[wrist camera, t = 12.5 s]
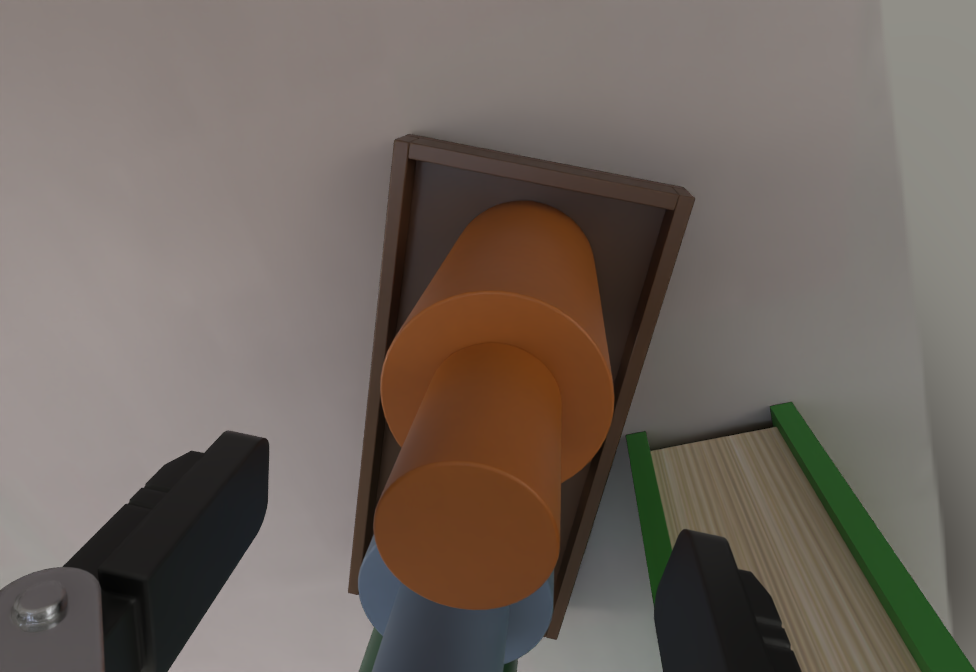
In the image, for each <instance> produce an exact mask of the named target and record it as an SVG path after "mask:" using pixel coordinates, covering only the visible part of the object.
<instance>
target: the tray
mask: <svg viewBox="0 0 976 672" xmlns="http://www.w3.org/2000/svg"><path fill="white" fill-rule="evenodd" d="M511 201H534V202H539V203H543V204H547V205H549V206H551V207H554V208H556V209H558V210H559V211H561V212H563V213H564V214H566V215H567V216H568V217H570V218H571V219H572V220H573V221H574V222H575V223H576V224H577V225H578V226H579V227H580V229H581V230H582V231H583V233H584V234H585V236H586V238H587V240H588V241H589V244H590V246H591V249H592V252H593V256H594V261H595V268H596V274H597V281H598V287H599V294H600V300H601V307H602V314H603V320H604V327H605V333H606V340H607V346H608V353H609V360H610V366H611V373H612V379H613V387H614V413H613V417H612V422H611V426H610V428H609V431H608V434H607V436H606V438H605V440H604V442H603V444H602V446H601V447H600V449H599V450H598V452H597V453H596V454H595V456H594V457H593V458H592V459H591V461H590V462H589V463H588V464H587V465H586V466H585V467H584V468H583V469H582V470H581V471H579V472H578V473H577V474H575V475H574V476H572V477H571V478H570V479H568V480H566V481H564V482H563V483H561V514H560V552H559V557H558V560H557V563H556V566H555V568H554V599H553V614H552V619H551V622H550V625H549V627H548V629H547V631H546V633H545V634H544V636H543V637H547V638H551V639H555V640H557V638H558V635H559V631H560V628H561V625H562V622H563V619H564V616H565V612H566V609H567V606H568V603H569V600H570V596H571V593H572V590H573V587H574V584H575V580H576V577H577V574H578V571H579V568H580V564H581V561H582V558H583V555H584V552H585V549H586V545H587V542H588V539H589V536H590V533H591V529H592V526H593V523H594V520H595V517H596V513H597V510H598V507H599V504H600V501H601V498H602V494H603V491H604V488H605V485H606V482H607V478H608V475H609V472H610V469H611V466H612V462H613V459H614V456H615V453H616V450H617V446H618V443H619V440H620V437H621V434H622V431H623V427H624V424H625V421H626V418H627V415H628V411H629V408H630V405H631V402H632V399H633V395H634V392H635V389H636V386H637V383H638V379H639V376H640V373H641V370H642V367H643V364H644V360H645V357H646V354H647V351H648V348H649V344H650V341H651V338H652V335H653V332H654V328H655V325H656V322H657V319H658V316H659V313H660V309H661V306H662V303H663V300H664V297H665V293H666V290H667V287H668V284H669V281H670V277H671V274H672V271H673V268H674V265H675V261H676V258H677V255H678V252H679V249H680V246H681V242H682V239H683V236H684V233H685V230H686V226H687V223H688V220H689V217H690V214H691V210H692V207H693V204H694V201H695V198H694V197H693V196H692V195H691V194H690V193H689V192H688V191H687V190H686V189H685V188H684V187H679V186H674V185H669V184H664V183H659V182H654V181H648V180H643V179H638V178H633V177H628V176H623V175H618V174H612V173H607V172H602V171H597V170H592V169H587V168H582V167H576V166H571V165H566V164H561V163H556V162H551V161H546V160H540V159H535V158H530V157H525V156H520V155H515V154H510V153H504V152H499V151H494V150H489V149H484V148H479V147H474V146H468V145H463V144H458V143H453V142H448V141H443V140H438V139H433V138H427V137H422V136H417V135H412V134H407V135H405V136H403V137H400V138H398V139H395V140H394V147H393V156H392V166H391V176H390V186H389V196H388V205H387V215H386V225H385V235H384V244H383V254H382V264H381V274H380V284H379V293H378V303H377V313H376V323H375V333H374V342H373V352H372V362H371V372H370V381H369V391H368V401H367V411H366V421H365V430H364V440H363V450H362V460H361V470H360V479H359V489H358V499H357V509H356V518H355V528H354V538H353V548H352V558H351V567H350V577H349V587H348V593H351V594H355V595H359V590H358V576H359V571H360V567H361V564H362V562H363V559H364V557H365V555H366V552H367V550H368V547H369V545H370V542H371V540H372V538H373V535H374V530H373V522H374V514H375V509H376V507H377V504H378V502H379V499H380V497H381V495H382V492H383V490H384V488H385V485H386V483H387V481H388V478H389V476H390V474H391V472H392V469H393V467H394V465H395V462H396V460H397V458H398V455H399V453H400V451H401V449H402V448H401V447H400V445H399V444H398V443H397V441H396V439H395V438H394V436H393V434H392V432H391V430H390V428H389V426H388V423H387V421H386V418H385V415H384V411H383V407H382V403H381V394H380V380H381V372H382V367H383V363H384V360H385V357H386V354H387V351H388V349H389V347H390V345H391V344H392V342H393V340H394V338H395V336H396V335H397V333H398V332H399V330H400V329H401V327H402V326H403V324H404V322H405V321H406V319H407V318H408V316H409V315H410V313H411V312H412V310H413V308H414V307H415V305H416V304H417V302H418V301H419V299H420V297H421V296H422V294H423V293H424V291H425V290H426V288H427V287H428V285H429V283H430V282H431V280H432V279H433V277H434V276H435V274H436V273H437V271H438V269H439V268H440V266H441V265H442V263H443V262H444V260H445V258H446V257H447V255H448V254H449V252H450V251H451V249H452V248H453V246H454V244H455V243H456V241H457V240H458V238H459V237H460V235H461V233H462V232H463V231H464V229H465V228H466V227H467V225H468V224H469V223H470V222H471V221H472V220H473V219H474V218H476V217H477V216H478V215H479V214H481V213H482V212H484V211H485V210H487V209H489V208H491V207H493V206H496V205H498V204H502V203H505V202H511Z"/></svg>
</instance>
